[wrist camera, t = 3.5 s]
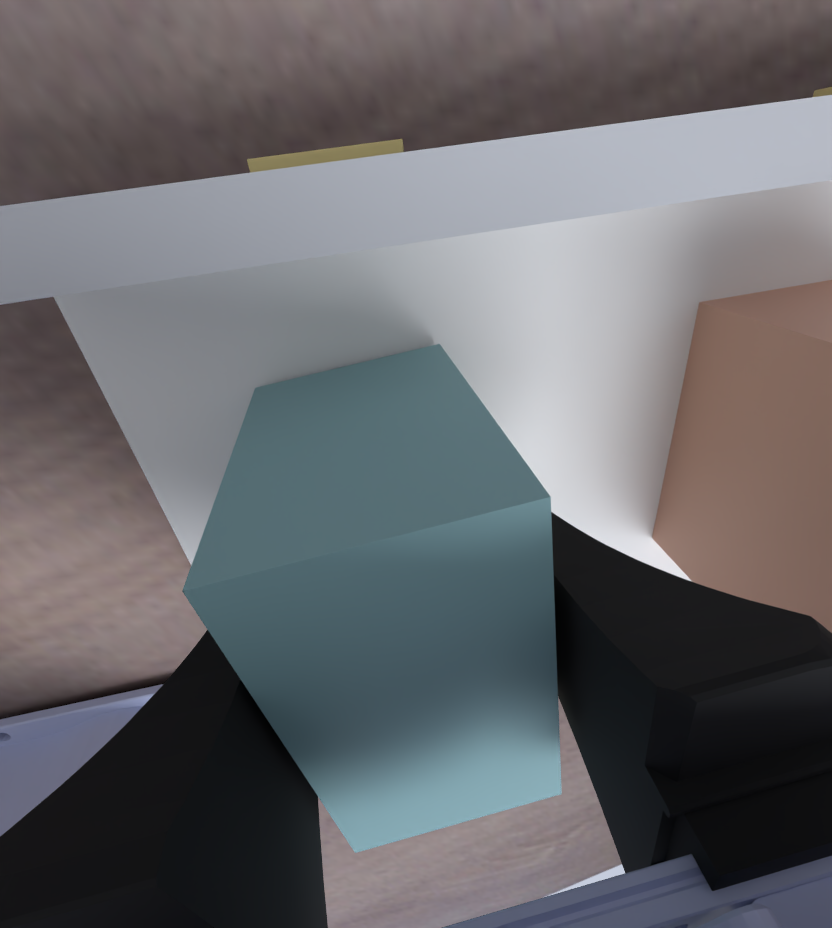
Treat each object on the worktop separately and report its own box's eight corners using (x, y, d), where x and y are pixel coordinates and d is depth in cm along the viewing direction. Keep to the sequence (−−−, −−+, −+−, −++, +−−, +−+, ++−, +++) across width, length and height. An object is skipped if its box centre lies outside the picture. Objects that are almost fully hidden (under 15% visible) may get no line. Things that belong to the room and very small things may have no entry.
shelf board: (255, 658, 17) (237, 772, 14) (33, 198, 9) (-133, 205, 6) (813, 538, 19) (917, 613, 16) (1021, 66, 11) (1323, 14, 8)
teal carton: (344, 611, 15) (355, 852, 10) (255, 387, 11) (182, 591, 5) (481, 575, 15) (568, 792, 10) (445, 342, 11) (562, 493, 6)
